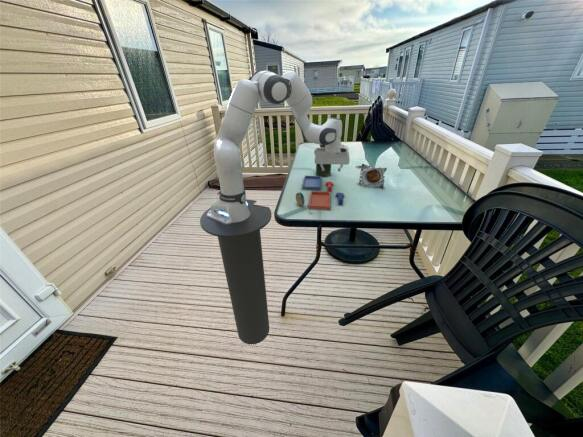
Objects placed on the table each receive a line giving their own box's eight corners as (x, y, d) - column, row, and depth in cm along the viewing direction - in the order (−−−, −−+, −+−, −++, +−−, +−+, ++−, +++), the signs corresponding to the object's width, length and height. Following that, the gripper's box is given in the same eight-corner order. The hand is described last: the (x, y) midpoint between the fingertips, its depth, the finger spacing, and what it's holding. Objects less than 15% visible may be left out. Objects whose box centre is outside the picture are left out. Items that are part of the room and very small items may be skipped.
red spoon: (333, 192, 148) (333, 187, 146) (325, 192, 149) (326, 187, 147) (332, 183, 159) (333, 179, 157) (325, 183, 160) (326, 178, 158)
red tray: (329, 209, 130) (330, 206, 129) (308, 208, 131) (308, 205, 130) (329, 194, 145) (330, 191, 144) (311, 194, 147) (311, 191, 146)
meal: (383, 186, 155) (387, 166, 148) (382, 189, 151) (386, 168, 144) (359, 183, 159) (362, 163, 153) (358, 185, 156) (361, 166, 149)
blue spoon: (344, 205, 134) (345, 200, 132) (336, 205, 134) (336, 199, 133) (343, 195, 145) (343, 190, 143) (335, 194, 145) (336, 189, 144)
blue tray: (320, 190, 151) (320, 187, 150) (302, 189, 152) (302, 186, 151) (321, 178, 166) (321, 176, 165) (304, 178, 168) (304, 175, 167)
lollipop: (308, 218, 129) (294, 199, 137) (310, 217, 129) (296, 199, 138) (311, 208, 124) (296, 190, 132) (313, 207, 124) (298, 189, 133)
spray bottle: (313, 175, 172) (315, 139, 159) (318, 170, 180) (320, 135, 167) (327, 177, 168) (330, 140, 155) (332, 172, 176) (335, 137, 163)
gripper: (314, 149, 137) (313, 172, 145) (351, 149, 135) (348, 173, 142) (314, 146, 143) (314, 168, 150) (350, 146, 140) (347, 169, 147)
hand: (331, 170), depth 146 cm, fingers open, 8 cm apart
